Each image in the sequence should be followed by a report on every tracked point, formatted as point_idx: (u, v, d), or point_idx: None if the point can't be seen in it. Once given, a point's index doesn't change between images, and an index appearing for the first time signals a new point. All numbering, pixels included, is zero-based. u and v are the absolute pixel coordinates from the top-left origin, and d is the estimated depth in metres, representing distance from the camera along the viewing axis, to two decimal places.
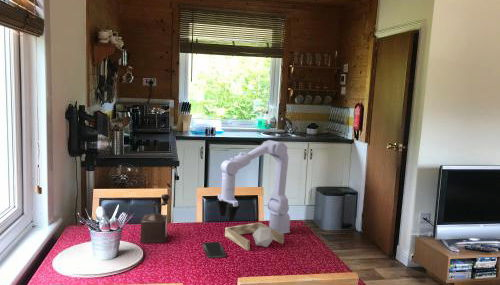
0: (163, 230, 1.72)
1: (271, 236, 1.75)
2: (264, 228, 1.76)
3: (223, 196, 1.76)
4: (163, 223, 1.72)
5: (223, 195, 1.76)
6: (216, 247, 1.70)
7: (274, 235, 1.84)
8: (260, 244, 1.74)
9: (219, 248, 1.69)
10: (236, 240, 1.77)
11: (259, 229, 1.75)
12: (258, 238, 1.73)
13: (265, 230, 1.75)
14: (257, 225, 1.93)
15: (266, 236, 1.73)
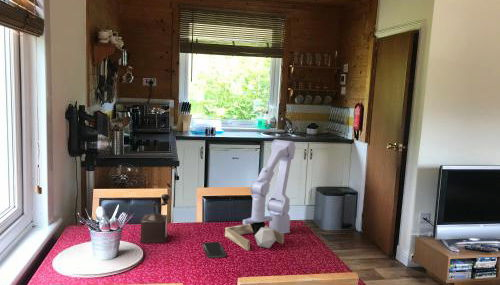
0: (163, 230, 1.72)
1: (273, 237, 1.74)
2: (266, 229, 1.75)
3: None
4: (163, 223, 1.72)
5: None
6: (216, 247, 1.70)
7: None
8: (262, 245, 1.73)
9: (219, 248, 1.69)
10: (236, 240, 1.77)
11: (261, 230, 1.74)
12: (260, 240, 1.72)
13: (267, 231, 1.73)
14: None
15: (268, 237, 1.72)
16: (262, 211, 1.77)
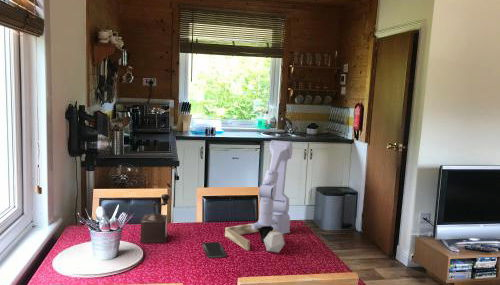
0: (163, 230, 1.72)
1: (283, 241, 1.70)
2: (275, 233, 1.70)
3: None
4: (163, 223, 1.72)
5: None
6: (216, 247, 1.70)
7: None
8: (272, 250, 1.69)
9: (219, 248, 1.69)
10: (236, 240, 1.77)
11: (270, 234, 1.70)
12: (270, 244, 1.67)
13: (277, 235, 1.69)
14: None
15: (278, 241, 1.67)
16: (271, 215, 1.73)
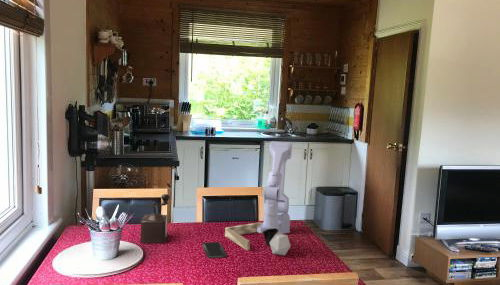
0: (163, 230, 1.72)
1: (289, 243, 1.67)
2: (281, 235, 1.68)
3: None
4: (163, 223, 1.72)
5: None
6: (216, 247, 1.70)
7: None
8: (278, 252, 1.66)
9: (219, 248, 1.69)
10: (236, 240, 1.77)
11: (276, 237, 1.67)
12: (276, 247, 1.65)
13: (283, 237, 1.66)
14: (257, 225, 1.93)
15: (284, 243, 1.65)
16: (276, 217, 1.70)
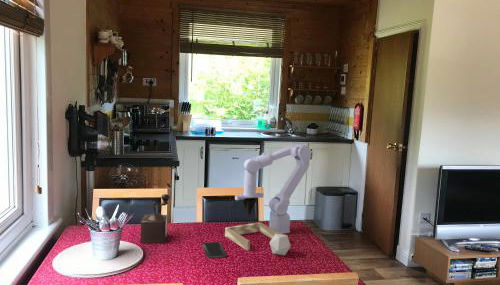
0: (163, 230, 1.72)
1: (289, 244, 1.67)
2: (281, 235, 1.68)
3: None
4: (163, 223, 1.72)
5: None
6: (216, 247, 1.70)
7: None
8: (278, 253, 1.66)
9: (219, 248, 1.69)
10: (236, 240, 1.77)
11: (276, 237, 1.67)
12: (276, 247, 1.65)
13: (283, 237, 1.66)
14: (257, 225, 1.93)
15: (284, 244, 1.65)
16: (253, 187, 1.86)
